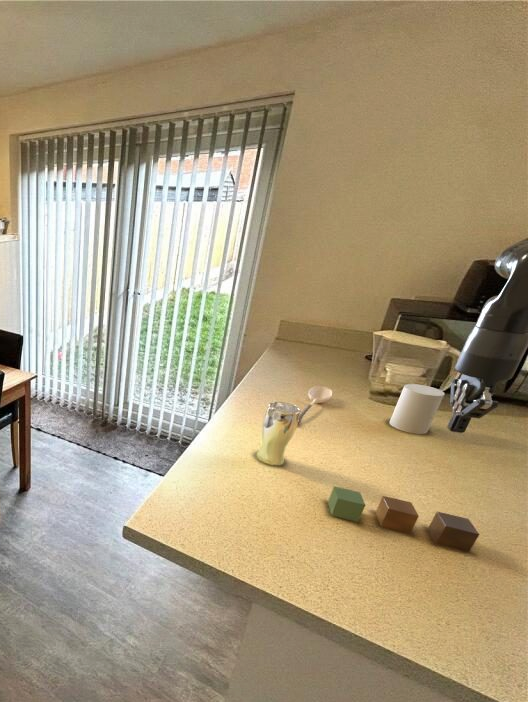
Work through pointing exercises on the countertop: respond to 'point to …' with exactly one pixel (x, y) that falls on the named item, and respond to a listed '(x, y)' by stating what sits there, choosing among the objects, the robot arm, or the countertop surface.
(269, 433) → the beer glass
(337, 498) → the sage block
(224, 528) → the countertop surface
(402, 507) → the oak block
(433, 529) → the walnut block
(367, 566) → the countertop surface
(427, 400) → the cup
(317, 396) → the ladle
